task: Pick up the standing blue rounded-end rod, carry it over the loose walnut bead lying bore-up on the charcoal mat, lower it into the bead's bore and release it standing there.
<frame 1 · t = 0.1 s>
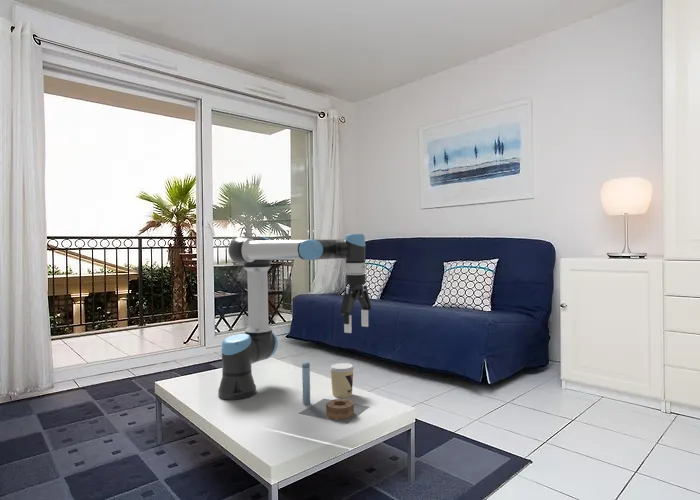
hand: (356, 329, 168), 28 cm above the table, fingers open, 13 cm apart
mat: (334, 411, 159), on the table
coffee cup: (342, 396, 176), on the table
bead: (340, 414, 154), point 1 cm above the table, touching mat
blue rounded-end rod: (306, 405, 166), on the table
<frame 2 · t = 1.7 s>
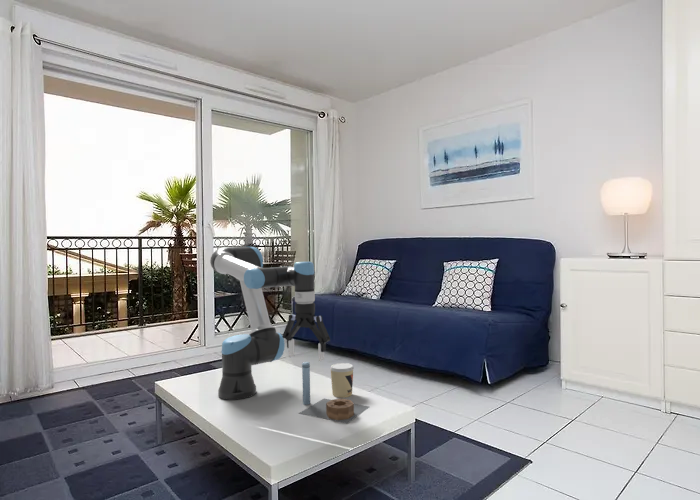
hand: (306, 358, 166), 18 cm above the table, fingers open, 13 cm apart
nothing on the table moved.
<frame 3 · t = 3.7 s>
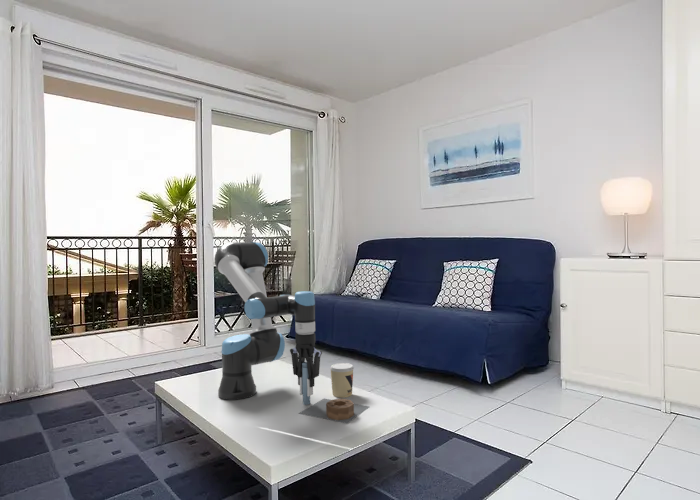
hand: (306, 394, 166), 4 cm above the table, fingers closed on blue rounded-end rod, 3 cm apart
blue rounded-end rod: (306, 404, 166), on the table, touching gripper
everything else where it was.
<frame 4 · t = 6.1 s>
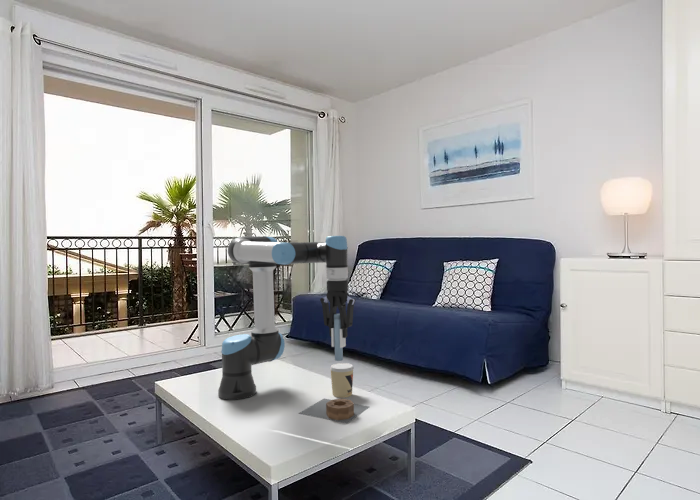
hand: (338, 346, 154), 25 cm above the table, fingers closed on blue rounded-end rod, 3 cm apart
blue rounded-end rod: (338, 359, 154), point 20 cm above the table, touching gripper
everything else where it was.
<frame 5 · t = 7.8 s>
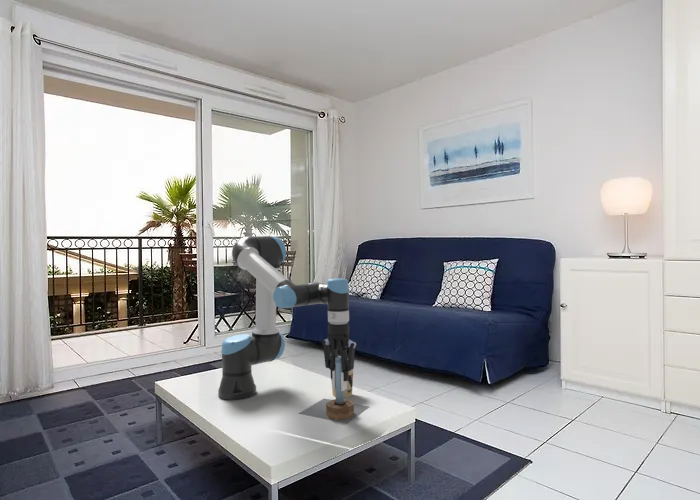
hand: (339, 389, 154), 10 cm above the table, fingers closed on blue rounded-end rod, 3 cm apart
blue rounded-end rod: (340, 402, 154), point 5 cm above the table, touching gripper
everything else where it was.
when the fingers open (6 cm above the table, at t = 8.7 s): blue rounded-end rod stays where it is, resting on mat.
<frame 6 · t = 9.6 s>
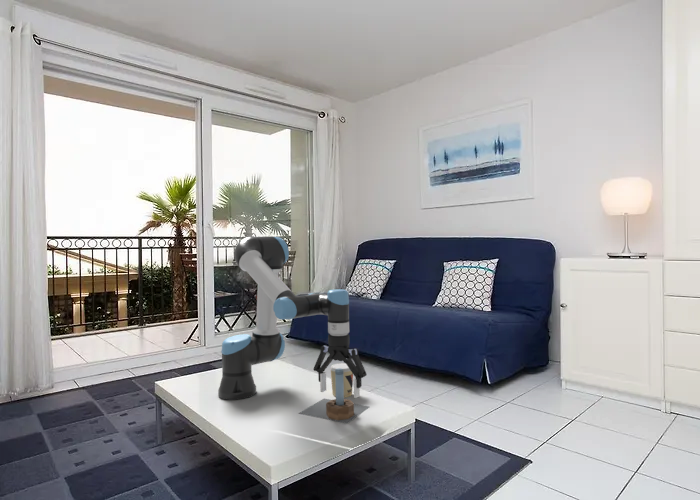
hand: (339, 394, 154), 8 cm above the table, fingers open, 13 cm apart
blue rounded-end rod: (340, 414, 154), point 1 cm above the table, touching mat
everything else where it was.
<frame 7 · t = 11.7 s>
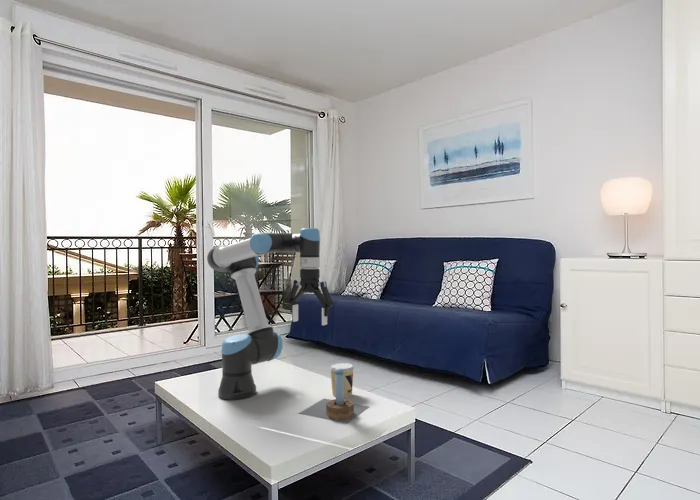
hand: (309, 323, 169), 30 cm above the table, fingers open, 13 cm apart
nothing on the table moved.
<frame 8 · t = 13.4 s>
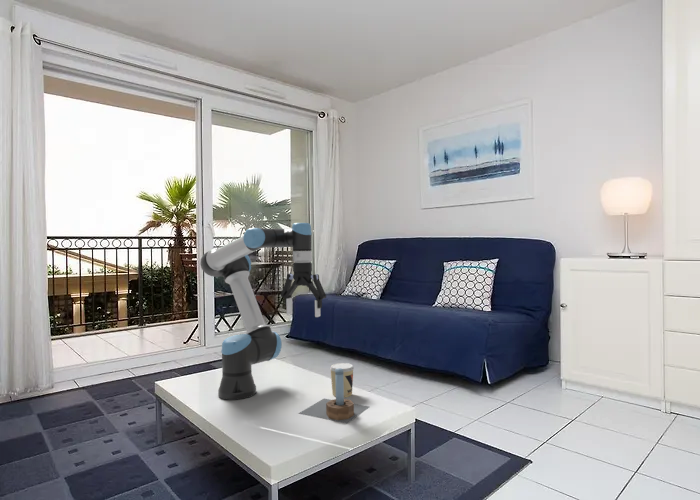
hand: (303, 315, 174), 33 cm above the table, fingers open, 13 cm apart
nothing on the table moved.
at the end: blue rounded-end rod 0.0 cm off-centre on the bead, point 0.0 cm above the bead's base; blue rounded-end rod tilted 0°; the gripper is holding nothing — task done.
